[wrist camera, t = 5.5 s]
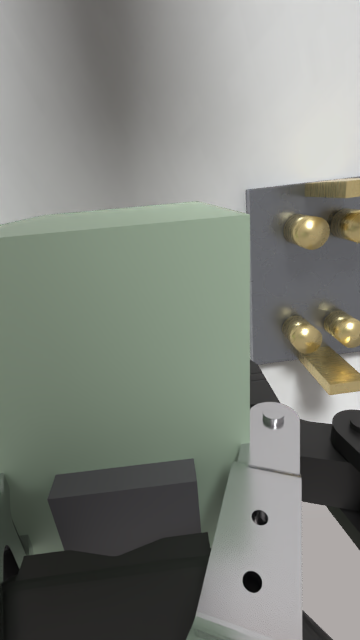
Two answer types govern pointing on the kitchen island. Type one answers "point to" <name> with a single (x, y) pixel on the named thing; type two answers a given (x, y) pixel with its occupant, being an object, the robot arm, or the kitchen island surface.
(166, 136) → the kitchen island surface
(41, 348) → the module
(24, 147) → the kitchen island surface
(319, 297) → the metal plate
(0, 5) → the kitchen island surface
